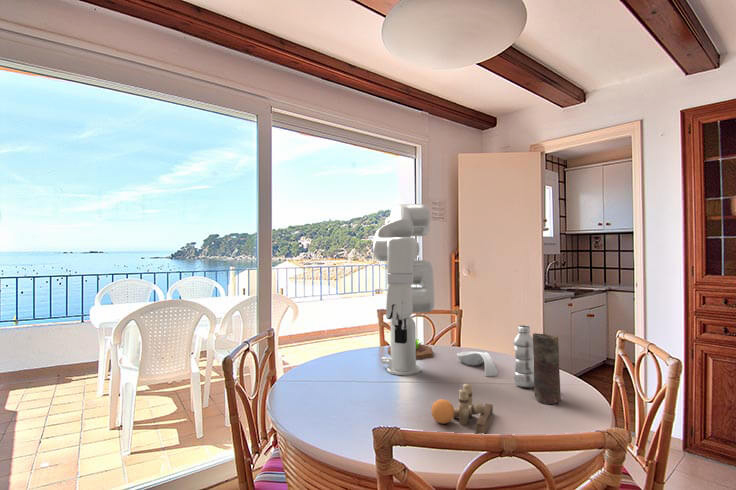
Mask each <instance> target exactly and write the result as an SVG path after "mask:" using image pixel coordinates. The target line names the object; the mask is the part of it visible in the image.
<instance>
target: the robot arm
mask: <svg viewBox="0 0 736 490" xmlns="http://www.w3.org/2000/svg"><path fill="white" fill-rule="evenodd" d="M430 227H431V212H430V209H429V207H428V206H427V205H426V204H422V203H416V204H415V203H411V204H410V203H408V204H397V205H395V206H393V208H392V209H391V211H390V214H389V216H388V217H387V218H386V219H385V222H384V225H382V226H381V227H379V228H378V229H377V230H376V231H375V234H374V238H373V244H372V254H373V256H374V258H375V260H377V261H378V262H387V263H386V265H387V266H386V268H387V269H386V271H387V272H386V273H387V274H386V275H387V276H386V277H387V281H386V282H387V283H386V284H387V294H386V307H385V308H386V310H385V317H386V319H387V320H390V323H389V324H390V346H391V355H390V357H386V356H382V357H381V361H380V362H381V363H382V364H384V365H387V367H386V371H387V372H388V373H389V374H393V375H397V376H413V375H417V374H419V373H420V372H421V367H420V366H419V365H417V360H416V339H417V338H416V336H417V334H416V333H417V331H416V329H417V327H416V322H415V321H414V319H413V318H412V317H411V316H412V315H413V313H415V314H416V313H418V314H419V313H430V312H432V311H434V308H435V284H434V283H435V282H434V281H435V279H434V278H435V277H434V270H433V265H432V263H431V262H430V261H428V260H424V259H423V260H422V259H417V258H418V256H419V255H420V244H419V242H418V241H417V240H416V238H415V237H425V236H427V235H429V231H430V229H431V228H430ZM413 285H416V286H417V285H419V287H418V286H417V287H412V286H413Z"/></svg>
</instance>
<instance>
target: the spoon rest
mask: <svg viewBox="0 0 736 490" xmlns="http://www.w3.org/2000/svg"><path fill="white" fill-rule="evenodd" d="M456 356H457V358H458V359H459V360H460V361H461V362H462V363H463V364H465V365H467V366H480V365H481V364H484V376H485V377H488V378H489V377H496V376H498V370H497V366H496V364H495V362H494V360H493V357H491V354H489V353H488V352H487V351H485V352H482V351H462V352H460V351H459V352H458V353H457V354H456ZM483 362H484V363H483Z"/></svg>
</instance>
